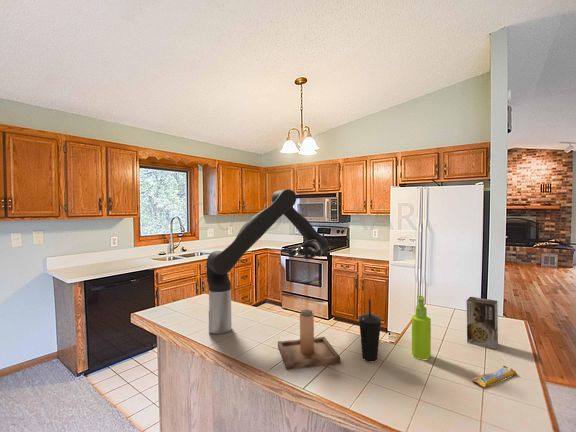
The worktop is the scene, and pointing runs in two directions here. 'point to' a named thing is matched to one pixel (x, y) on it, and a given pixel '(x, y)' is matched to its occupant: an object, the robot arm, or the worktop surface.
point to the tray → (296, 360)
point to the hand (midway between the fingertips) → (301, 254)
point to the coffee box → (482, 322)
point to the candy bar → (494, 376)
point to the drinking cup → (369, 334)
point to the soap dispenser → (421, 332)
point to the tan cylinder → (306, 332)
